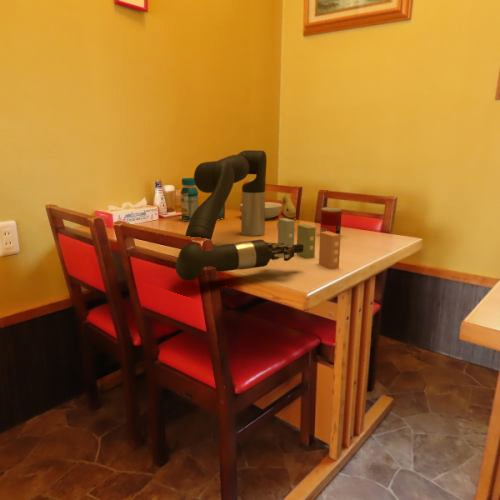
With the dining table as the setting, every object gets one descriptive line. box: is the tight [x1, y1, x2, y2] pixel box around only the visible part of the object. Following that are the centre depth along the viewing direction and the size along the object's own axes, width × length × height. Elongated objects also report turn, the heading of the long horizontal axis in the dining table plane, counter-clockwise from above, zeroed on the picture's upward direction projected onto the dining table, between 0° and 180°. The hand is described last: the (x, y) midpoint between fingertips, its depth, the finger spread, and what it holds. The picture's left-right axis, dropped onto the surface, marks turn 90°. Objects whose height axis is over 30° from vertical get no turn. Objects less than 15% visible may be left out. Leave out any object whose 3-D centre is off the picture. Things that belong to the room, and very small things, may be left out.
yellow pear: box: [276, 193, 297, 227], centre depth 177 cm, size 7×11×15 cm, turn 30°
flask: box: [217, 203, 226, 221], centre depth 198 cm, size 9×3×11 cm, turn 151°
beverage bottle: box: [180, 177, 200, 222], centre depth 195 cm, size 8×8×20 cm
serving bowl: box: [239, 201, 283, 220], centre depth 203 cm, size 21×21×7 cm
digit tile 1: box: [277, 218, 296, 245], centre depth 146 cm, size 3×6×10 cm, turn 27°
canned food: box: [319, 206, 343, 235], centre depth 164 cm, size 8×8×11 cm
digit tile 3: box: [318, 231, 342, 269], centre depth 124 cm, size 3×6×10 cm, turn 27°
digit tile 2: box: [296, 223, 317, 259], centre depth 135 cm, size 3×6×10 cm, turn 27°
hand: (301, 247), depth 119 cm, fingers closed
